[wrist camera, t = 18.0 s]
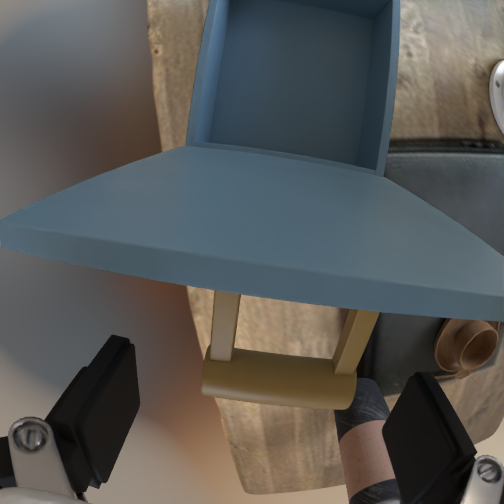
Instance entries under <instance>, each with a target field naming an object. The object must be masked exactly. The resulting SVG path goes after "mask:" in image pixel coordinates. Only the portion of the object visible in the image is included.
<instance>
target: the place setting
mask: <svg viewBox="0 0 504 504" xmlns="http://www.w3.org/2000/svg"><path fill="white" fill-rule="evenodd" d="M499 327H500V321H484V320H469V319H455V318H447V319H446V320H445V322H444V323H443V325H442V326H441V328H440V330H439V332H438V334H437V337H436V340H435V344H434V357H435V360H436V362H437V364H438V366H439V367H440V368H441V369H443V370H444V371H447V372H456V373H454V374H451V375H442V376H434V377H435V378H436V379H441V378H448V377H455V378H457V379H462V378H464V377H466V376H468V375H469V374H470V371H471V370H475V369H477V368H479V367H481V366H482V365H484V364H485V363H486V362H487V361H488V360H489V359H490V357H491V356H492V355H493V353H494V351H495V349H496V347H497V344H498V331H499Z"/></svg>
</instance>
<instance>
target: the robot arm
mask: <svg viewBox="0 0 504 504" xmlns="http://www.w3.org/2000/svg"><path fill="white" fill-rule="evenodd" d="M489 93H490V101H491V106H492V110H493V113H494V116H495V119H496V121H497V124H498V126H499V127H500V129H501V131H502V133H503V134H504V60H503V61H501V62H499V63H497V64H496V66H495V67H494V68H493V71H492V73H491V77H490V83H489ZM139 406H140V396H139V387H138V378H137V367H136V356H135V346H134V344H131V343H130V340H129V339H128V338H124V337H120V336H116V335H111V337H110V338H109V339H108V340H107V342H106V343H105V344H104V346H103V347H102V348H101V350H100V351H99V352H98V354H97V355H96V357H95V358H94V359H93V360H92V362H91V363H90V364H89V366H88V367H86V366H85V367H83V368H82V369H81V370H80V371H79V372H78V374H77V375H76V376H75V378H74V379H73V380H72V382H71V383H70V384H69V386H68V387H67V389H66V390H65V391H64V393H63V394H62V396H61V397H60V398H59V400H58V401H57V403H56V404H55V406H54V407H53V408H52V410H51V411H50V413H49V414H48V416H47V417H46V418H45V420H42V419H40V418H37V417H24V418H21V419H19V420H17V421H16V422H14V423H13V424H12V426H11V427H10V429H9V433H8V436H6V437H1V438H0V504H91V503H88V501H87V499H86V497H85V494H84V492H86V490H87V488H88V486H92V487H94V488H97V489H99V488H100V485H101V483H106V482H107V481H108V479H109V477H110V474H111V472H112V470H113V467H114V465H115V462H116V460H117V458H118V455H119V453H120V451H121V448H122V446H123V444H124V441H125V439H126V437H127V434H128V432H129V430H130V428H131V426H132V423H133V421H134V419H135V417H136V414H137V412H138V409H139ZM382 436H383V439H384V442H385V446H386V449H387V452H388V455H389V458H390V462H391V465H392V468H393V471H394V475H395V478H396V481H397V485H398V488H399V492H400V495H401V499H402V502H403V504H504V466H503V465H502V463H501V462H500V461H499V460H498V459H497V458H495V457H493V456H490V455H482V456H480V457H478V458H477V459H475V457H474V456H475V455H476V453H477V451H476V449H475V447H474V445H473V443H472V441H471V439H470V437H469V436H468V434H467V432H466V430H465V428H464V426H463V425H462V423H461V421H460V419H459V417H458V416H457V414H456V412H455V410H454V409H453V407H452V405H451V404H450V402H449V400H448V398H447V397H446V395H445V393H444V392H443V390H442V388H441V387H440V385H439V383H438V382H437V380H436V378H435V377H434V375H433V374H432V373H431V372H416V373H414V375H413V376H411V377H410V378H409V379H408V381H407V383H406V385H405V387H404V389H403V391H402V393H401V395H400V397H399V398H398V400H397V402H396V404H395V406H394V408H393V409H392V411H391V413H390V415H389V416H388V418H387V420H386V422H385V423H384V425H383V427H382Z"/></svg>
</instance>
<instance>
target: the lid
mask: <svg viewBox="0 0 504 504" xmlns="http://www.w3.org/2000/svg"><path fill="white" fill-rule="evenodd" d="M0 242H1V247H2V248H3V249H8V250H12V251H16V252H20V253H25V254H29V255H33V256H38V257H42V258H47V259H51V260H56V261H61V262H65V263H70V264H75V265H80V266H85V267H90V268H95V269H99V270H104V271H109V272H115V273H119V274H125V275H130V276H135V277H141V278H147V279H152V280H157V281H163V282H169V283H174V284H180V285H186V286H192V287H198V288H204V289H211V290H215V293H214V305H213V317H212V330H211V344H210V345H209V346H208V348H207V352H206V355H205V360H204V365H203V372H202V380H201V393H202V394H203V395H206V396H212V397H218V398H224V399H230V400H237V401H244V402H252V403H260V404H269V405H278V406H289V407H302V408H317V409H340V410H345V409H347V408H348V407H349V406H350V405H351V403H352V401H353V399H354V395H355V391H356V384H357V374H356V367H357V365H358V363H359V361H360V358H361V356H362V354H363V352H364V349H365V347H366V345H367V342H368V340H369V337H370V335H371V332H372V330H373V328H374V325H375V323H376V320H377V317H378V315H379V312H386V313H396V314H407V315H418V316H430V317H442V318H455V319H469V320H484V321H502V322H504V257H503V256H502V255H501V254H500V253H498V252H497V251H496V250H494V249H493V248H492V247H490V246H489V245H488V244H486V243H485V242H484V241H482V240H481V239H480V238H478V237H477V236H475V235H474V234H473V233H471V232H470V231H469V230H467V229H466V228H464V227H463V226H461V225H460V224H458V223H457V222H456V221H454V220H453V219H451V218H450V217H448V216H447V215H445V214H444V213H442V212H441V211H439V210H438V209H436V208H434V207H433V206H431V205H430V204H428V203H427V202H425V201H423V200H422V199H420V198H419V197H417V196H415V195H414V194H412V193H410V192H409V191H407V190H405V189H404V188H402V187H400V186H399V185H397V184H395V183H394V182H392V181H390V180H388V179H387V178H385V177H380V176H376V175H372V174H367V173H362V172H358V171H353V170H348V169H343V168H338V167H333V166H328V165H323V164H317V163H312V162H306V161H300V160H295V159H288V158H282V157H276V156H269V155H262V154H255V153H247V152H239V151H231V150H223V149H214V148H204V147H193V146H181V147H178V148H175V149H172V150H168V151H165V152H162V153H159V154H156V155H153V156H150V157H147V158H144V159H141V160H138V161H135V162H133V163H130V164H127V165H124V166H122V167H119V168H116V169H113V170H111V171H108V172H106V173H103V174H100V175H98V176H95V177H93V178H90V179H88V180H86V181H83V182H81V183H78V184H76V185H74V186H71V187H69V188H66V189H64V190H62V191H60V192H58V193H55V194H53V195H51V196H48V197H46V198H44V199H42V200H40V201H38V202H36V203H33V204H31V205H29V206H27V207H25V208H23V209H21V210H19V211H17V212H15V213H13V214H11V215H9V216H8V217H6V218H4V219H2V220H0ZM241 294H243V295H250V296H256V297H263V298H271V299H278V300H285V301H292V302H300V303H308V304H316V305H324V306H332V307H340V308H349V309H350V311H349V314H348V317H347V320H346V323H345V326H344V328H343V331H342V334H341V337H340V340H339V342H338V345H337V348H336V350H335V353H334V356H333V358H332V359H323V358H312V357H302V356H292V355H283V354H275V353H267V352H260V351H252V350H245V349H238V348H234V343H235V335H236V328H237V320H238V313H239V305H240V298H241Z"/></svg>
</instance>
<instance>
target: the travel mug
mask: <svg viewBox="0 0 504 504" xmlns="http://www.w3.org/2000/svg"><path fill="white" fill-rule="evenodd" d="M334 414H335V421H336V428H337V435H338V442H339V448H340V454H341V459H342V464H343V470H344V476H345V481H346V487H347V492H348V499H349V504H403V502H402V499H401V495H400V492H399V488H398V485H397V481H396V478H395V475H394V471H393V468H392V465H391V462H390V458H389V455H388V452H387V449H386V446H385V442H384V439H383V436H382V427H383V425H384V423H385V422H386V420H387V418H388V416H389V415H390V411H389V409H388V406H387V404H386V402H385V399H384V397H383V395H382V392H381V390H380V388H379V386H378V384H377V383H376V382H375V381H373V380H372V379H368V378H357V384H356V391H355V395H354V399H353V401H352V403H351V405H350V406H349V407H348V408H347V409H345V410H340V409H334Z"/></svg>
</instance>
